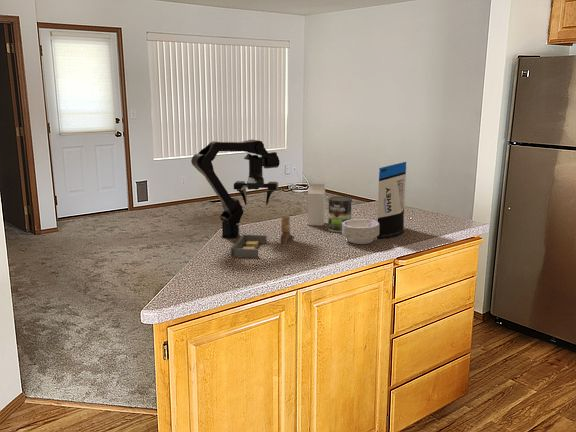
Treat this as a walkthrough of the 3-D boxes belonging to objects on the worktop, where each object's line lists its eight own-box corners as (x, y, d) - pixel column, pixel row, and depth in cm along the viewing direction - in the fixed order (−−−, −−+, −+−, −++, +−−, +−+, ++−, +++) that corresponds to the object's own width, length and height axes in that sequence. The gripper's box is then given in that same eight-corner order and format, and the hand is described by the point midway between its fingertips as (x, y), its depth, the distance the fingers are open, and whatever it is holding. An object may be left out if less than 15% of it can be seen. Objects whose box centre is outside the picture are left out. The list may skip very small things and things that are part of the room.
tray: (231, 256, 199) (231, 248, 198) (242, 241, 218) (242, 234, 217) (257, 257, 198) (257, 249, 197) (266, 242, 217) (266, 235, 216)
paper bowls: (335, 238, 222) (335, 220, 220) (366, 234, 228) (366, 216, 226) (353, 248, 208) (354, 229, 206) (386, 244, 214) (387, 225, 212)
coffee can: (347, 233, 230) (348, 201, 227) (324, 231, 234) (325, 199, 231) (353, 227, 239) (354, 197, 236) (332, 225, 243) (332, 195, 240)
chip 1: (241, 254, 202) (241, 249, 202) (243, 251, 206) (243, 246, 206) (252, 255, 201) (252, 250, 201) (255, 251, 206) (254, 247, 205)
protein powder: (412, 229, 236) (416, 162, 229) (387, 241, 218) (390, 169, 211) (393, 226, 242) (396, 160, 235) (366, 237, 223) (369, 167, 216)
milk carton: (322, 226, 243) (323, 185, 238) (307, 225, 244) (307, 184, 239) (325, 222, 249) (325, 182, 245) (310, 221, 251) (310, 182, 246)
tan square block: (245, 248, 210) (245, 243, 210) (247, 245, 214) (247, 240, 214) (256, 248, 210) (256, 244, 209) (258, 245, 214) (258, 240, 213)
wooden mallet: (279, 244, 215) (279, 221, 213) (284, 234, 229) (284, 213, 227) (287, 244, 215) (287, 221, 213) (291, 235, 228) (291, 213, 226)
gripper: (230, 172, 220) (231, 208, 224) (274, 172, 218) (274, 209, 222) (236, 168, 231) (236, 203, 235) (278, 168, 229) (278, 204, 232)
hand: (256, 205), depth 230 cm, fingers open, 9 cm apart
